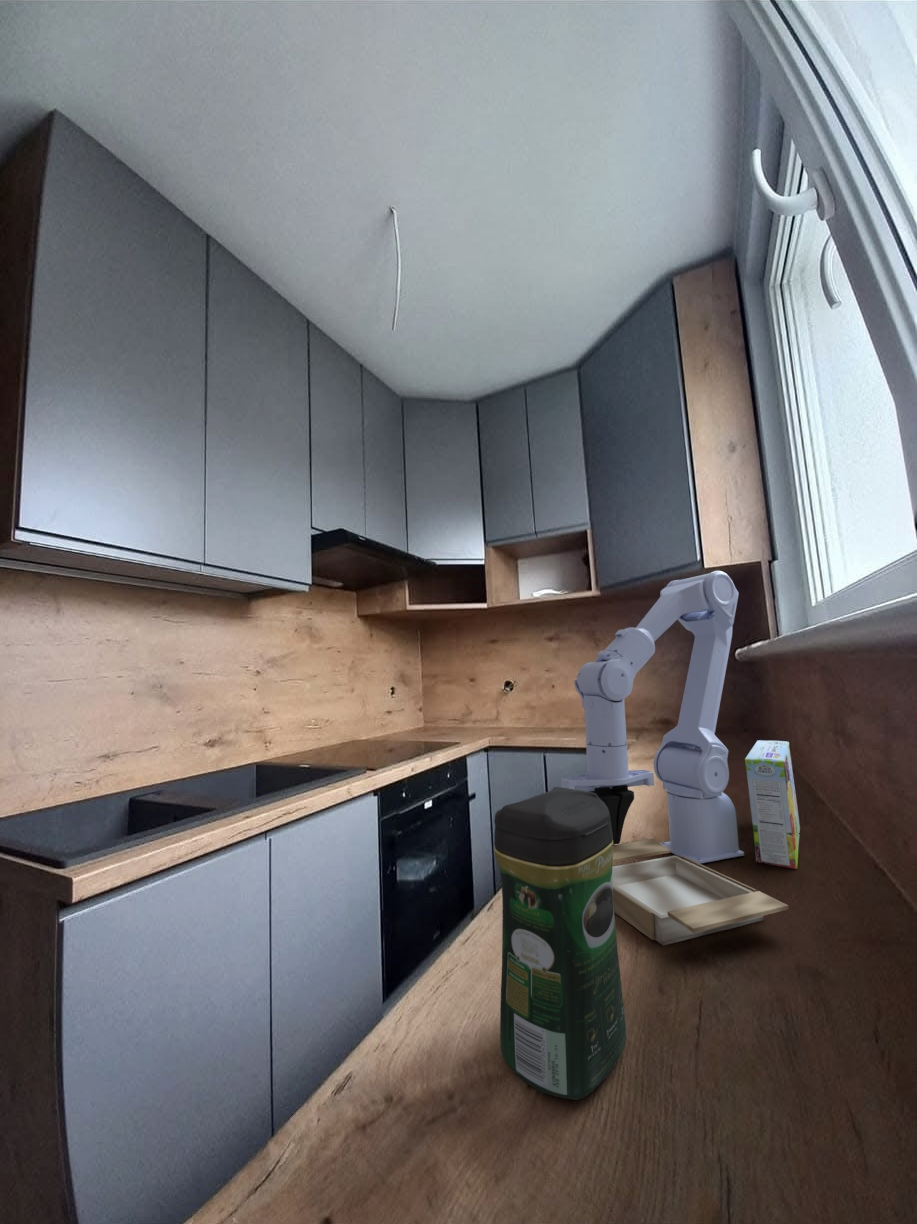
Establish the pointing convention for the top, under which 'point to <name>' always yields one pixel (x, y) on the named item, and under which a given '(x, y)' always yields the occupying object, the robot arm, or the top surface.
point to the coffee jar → (559, 942)
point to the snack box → (773, 803)
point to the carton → (670, 895)
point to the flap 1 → (638, 850)
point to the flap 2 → (726, 911)
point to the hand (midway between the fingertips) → (611, 841)
